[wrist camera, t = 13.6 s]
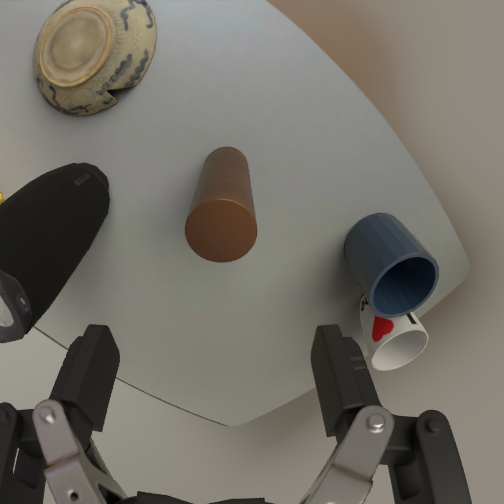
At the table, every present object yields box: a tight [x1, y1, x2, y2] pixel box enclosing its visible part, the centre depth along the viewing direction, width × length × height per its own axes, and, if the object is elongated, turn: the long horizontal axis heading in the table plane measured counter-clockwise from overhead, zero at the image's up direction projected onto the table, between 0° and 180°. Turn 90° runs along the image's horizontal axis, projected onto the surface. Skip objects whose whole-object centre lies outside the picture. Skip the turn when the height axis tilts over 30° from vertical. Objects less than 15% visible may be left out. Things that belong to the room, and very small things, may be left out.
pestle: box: [185, 147, 257, 262], centre depth 24 cm, size 4×4×14 cm
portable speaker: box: [0, 163, 110, 343], centre depth 22 cm, size 9×9×20 cm
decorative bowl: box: [33, 0, 156, 116], centre depth 20 cm, size 15×4×15 cm
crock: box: [344, 213, 439, 318], centre depth 32 cm, size 9×9×9 cm
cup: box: [360, 295, 428, 371], centre depth 37 cm, size 8×8×10 cm
